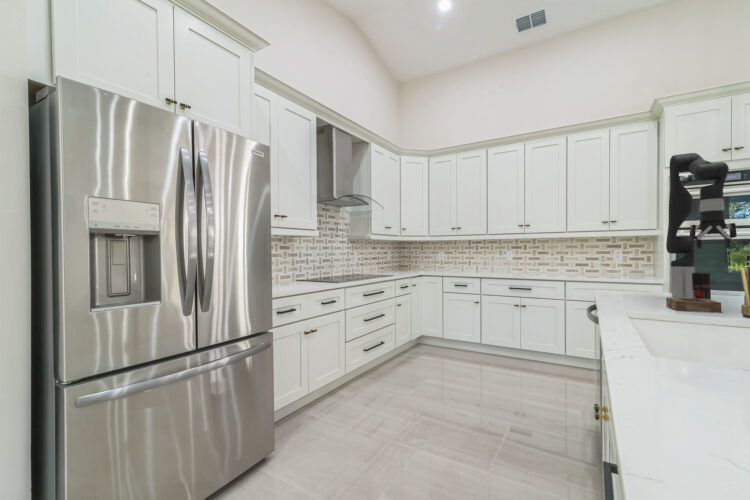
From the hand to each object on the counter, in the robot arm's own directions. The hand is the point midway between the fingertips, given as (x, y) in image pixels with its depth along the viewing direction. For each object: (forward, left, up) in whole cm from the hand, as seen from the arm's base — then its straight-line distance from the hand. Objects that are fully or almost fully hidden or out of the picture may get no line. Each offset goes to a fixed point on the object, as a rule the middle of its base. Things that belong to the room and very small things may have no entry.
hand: (712, 248), depth 146 cm
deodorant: (-11, -1, -26) cm, 29 cm away
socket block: (+2, -8, -26) cm, 27 cm away
